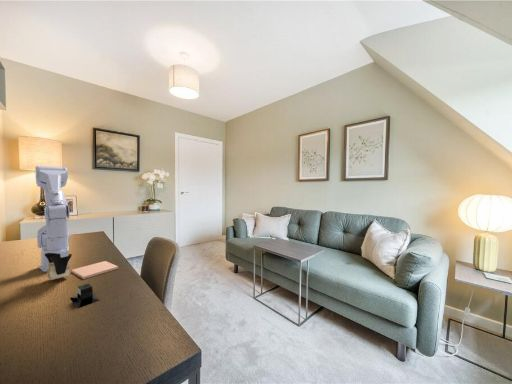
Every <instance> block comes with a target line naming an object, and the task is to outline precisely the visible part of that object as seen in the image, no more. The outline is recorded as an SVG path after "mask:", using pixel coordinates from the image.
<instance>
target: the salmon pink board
mask: <svg viewBox="0 0 512 384" xmlns="http://www.w3.org/2000/svg"><path fill="white" fill-rule="evenodd" d="M118 269H119V266H118V265H116V264H113V263H112V262H109V261H106V260H104V261H100V262H96V263H92V264H88V265H84V266H80V267H77V268H73V269H71V273H72V274H73V275H76V277H79V278H80V279H82V280H85V279H89V278H92V277H96V276H99V275H102V274H105V273H109V272H112V271H115V270H118Z"/></svg>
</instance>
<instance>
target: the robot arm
mask: <svg viewBox="0 0 512 384" xmlns="http://www.w3.org/2000/svg"><path fill="white" fill-rule="evenodd" d="M68 172H69V171H68V168H67V167H66V166H46V165H45V166H43V165H37V166H35V181H36V182H35V183H36V186H37V187H39V188H42V190H43V191H44V200H45V207H44V220H45V225H44V226H41V228H39V229H38V231H37V236H36V237H37V248H39V249H41V251H40V263H41V264H40V265H38V266H37V268H38V269H40V270H41V271H42V272H44V273H47V264H48V263H52V262H53V263H54V266H55V270H56V273H57V275H60V274H64V273H65V271H66V268H67V264H68V262H70V260H71V258H72V257H73V255H72V253H69V248H70V247H69V243H70V240H71V239H70V238H71V236H70V235H71V234H70V230H69V226H68V225H69V224H68V223H69V219H70V212H71V211H70V207H69V204H68V202H67V200H66V194H65V192H64V191H62V190H61V189H62V188H63V187H65V186H66V185H67V181H68V179H69V178H68V175H69V173H68Z"/></svg>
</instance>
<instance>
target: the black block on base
mask: <svg viewBox="0 0 512 384" xmlns="http://www.w3.org/2000/svg"><path fill="white" fill-rule="evenodd" d="M76 292H77V293H76V295H75V296H71V297H69V299H70V301H71V302H72V303H73V305H74V306H75V307H76V308H77V309H81V308H83V307H86V306H88V305H91V304H95V303H97V302H100V301H101V299H100V298H99V297H98V296H97V295H96V294H95V293H94V292H93V286H92V285H91V284H90V282H88V283H84V284H82V285H78V286H77V288H76Z"/></svg>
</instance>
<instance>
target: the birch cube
mask: <svg viewBox="0 0 512 384" xmlns="http://www.w3.org/2000/svg"><path fill="white" fill-rule="evenodd" d="M46 275H47V276H46V277H47V278H48V279H50V280H51V281H54V280H57V279H61V278H64V277H67V276H70V261H68V264H67V268H66V271H65V273H64V274H60V275H57V273H56V270H55V266H54V263H53V262H52V263H48V264H47V271H46Z"/></svg>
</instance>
